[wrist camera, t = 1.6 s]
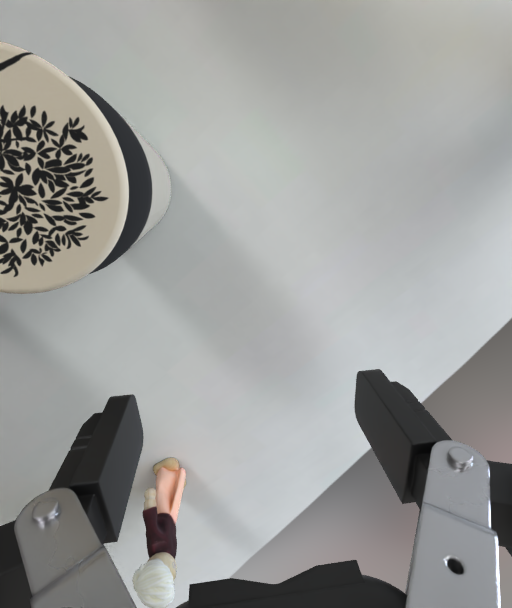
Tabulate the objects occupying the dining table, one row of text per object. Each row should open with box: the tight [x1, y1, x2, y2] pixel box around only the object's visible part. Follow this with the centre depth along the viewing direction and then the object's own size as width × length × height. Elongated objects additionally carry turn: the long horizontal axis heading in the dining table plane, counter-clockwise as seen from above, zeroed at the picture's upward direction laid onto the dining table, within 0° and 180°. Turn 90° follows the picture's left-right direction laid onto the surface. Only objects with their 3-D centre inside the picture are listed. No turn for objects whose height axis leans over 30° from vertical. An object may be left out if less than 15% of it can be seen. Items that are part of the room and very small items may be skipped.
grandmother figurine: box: [133, 458, 186, 608], centre depth 31 cm, size 8×4×13 cm, turn 23°
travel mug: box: [0, 41, 171, 294], centre depth 19 cm, size 8×8×18 cm
